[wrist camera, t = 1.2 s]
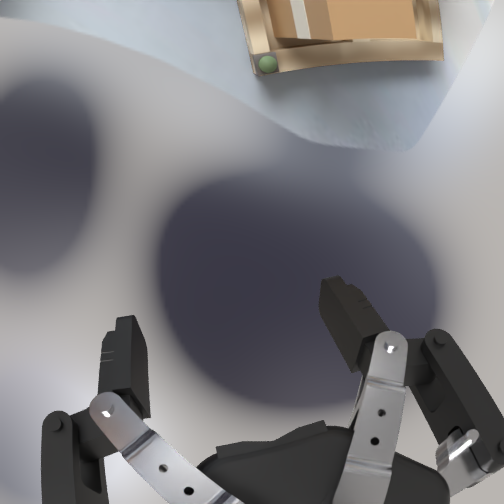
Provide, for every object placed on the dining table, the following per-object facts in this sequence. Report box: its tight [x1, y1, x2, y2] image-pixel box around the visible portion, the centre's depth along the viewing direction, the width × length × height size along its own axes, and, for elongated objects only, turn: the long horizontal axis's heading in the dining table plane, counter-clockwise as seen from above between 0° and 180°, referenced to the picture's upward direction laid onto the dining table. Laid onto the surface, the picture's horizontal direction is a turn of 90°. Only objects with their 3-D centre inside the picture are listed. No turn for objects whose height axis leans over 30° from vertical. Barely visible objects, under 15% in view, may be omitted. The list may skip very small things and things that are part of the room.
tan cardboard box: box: [266, 0, 417, 41], centre depth 19 cm, size 6×6×15 cm
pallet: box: [237, 0, 444, 76], centre depth 23 cm, size 13×22×5 cm, turn 102°
